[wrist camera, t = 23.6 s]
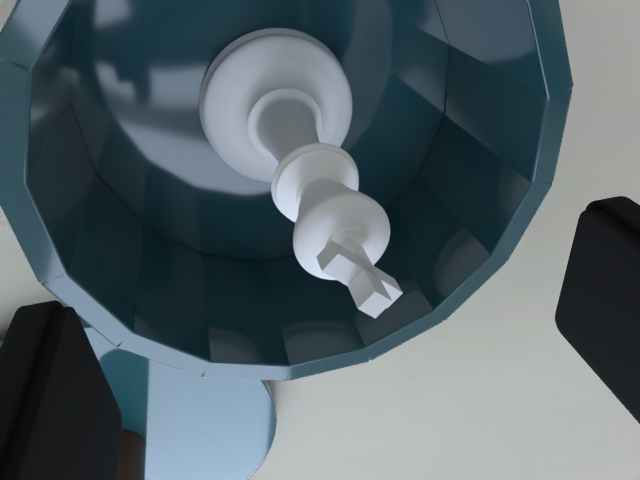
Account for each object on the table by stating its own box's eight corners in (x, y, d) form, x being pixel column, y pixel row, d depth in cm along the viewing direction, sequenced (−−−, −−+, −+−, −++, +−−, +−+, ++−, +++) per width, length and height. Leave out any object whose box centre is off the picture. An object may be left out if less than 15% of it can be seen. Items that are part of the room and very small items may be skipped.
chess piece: (262, -10, 15) (374, 105, 7) (378, 92, 17) (560, 265, 9) (167, 123, 16) (164, 350, 8) (287, 200, 19) (375, 431, 11)
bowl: (478, -169, 14) (635, -200, 10) (446, 230, 22) (524, 325, 17) (-39, -129, 12) (-175, -144, 7) (123, 296, 20) (108, 424, 15)
